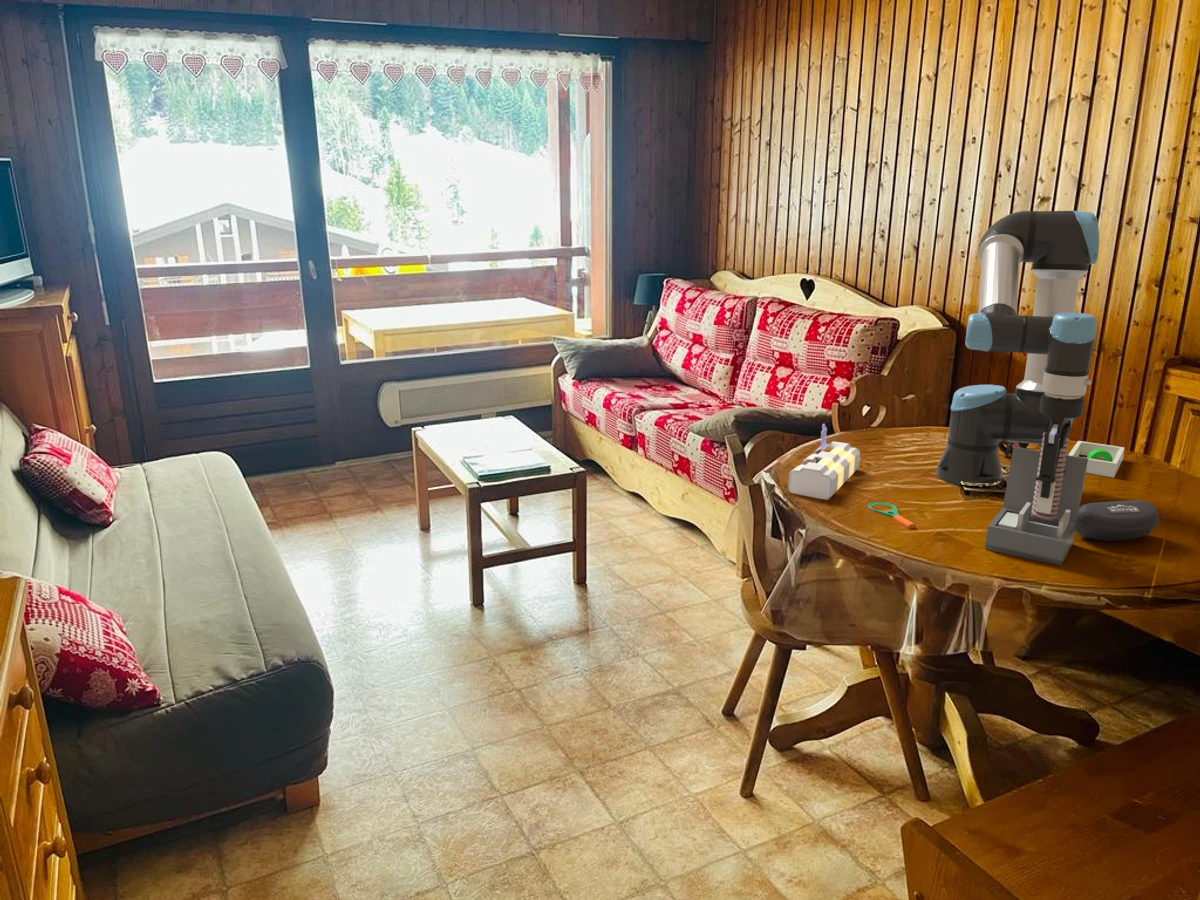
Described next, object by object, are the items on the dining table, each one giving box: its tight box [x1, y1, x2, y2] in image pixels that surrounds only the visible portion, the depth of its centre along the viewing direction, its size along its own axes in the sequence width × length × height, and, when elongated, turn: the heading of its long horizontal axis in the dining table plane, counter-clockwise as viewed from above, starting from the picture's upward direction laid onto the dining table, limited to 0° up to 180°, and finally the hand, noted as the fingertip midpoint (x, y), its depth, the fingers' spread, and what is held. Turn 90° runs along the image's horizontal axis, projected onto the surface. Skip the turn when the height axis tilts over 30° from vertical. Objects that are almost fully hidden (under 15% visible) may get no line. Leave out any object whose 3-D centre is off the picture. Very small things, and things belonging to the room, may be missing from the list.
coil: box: [1030, 432, 1070, 520], centre depth 172 cm, size 5×5×18 cm
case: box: [984, 447, 1089, 566], centre depth 176 cm, size 14×16×18 cm
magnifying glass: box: [868, 501, 917, 530], centre depth 193 cm, size 15×6×2 cm, turn 13°
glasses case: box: [1075, 499, 1160, 542], centre depth 181 cm, size 18×10×8 cm, turn 98°
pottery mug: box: [998, 441, 1042, 458], centre depth 230 cm, size 12×9×8 cm
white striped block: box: [787, 423, 861, 501], centre depth 213 cm, size 25×10×13 cm, turn 150°
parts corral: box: [1067, 440, 1125, 479], centre depth 226 cm, size 11×17×4 cm, turn 144°
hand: (1045, 507), depth 173 cm, fingers closed on coil, 5 cm apart
